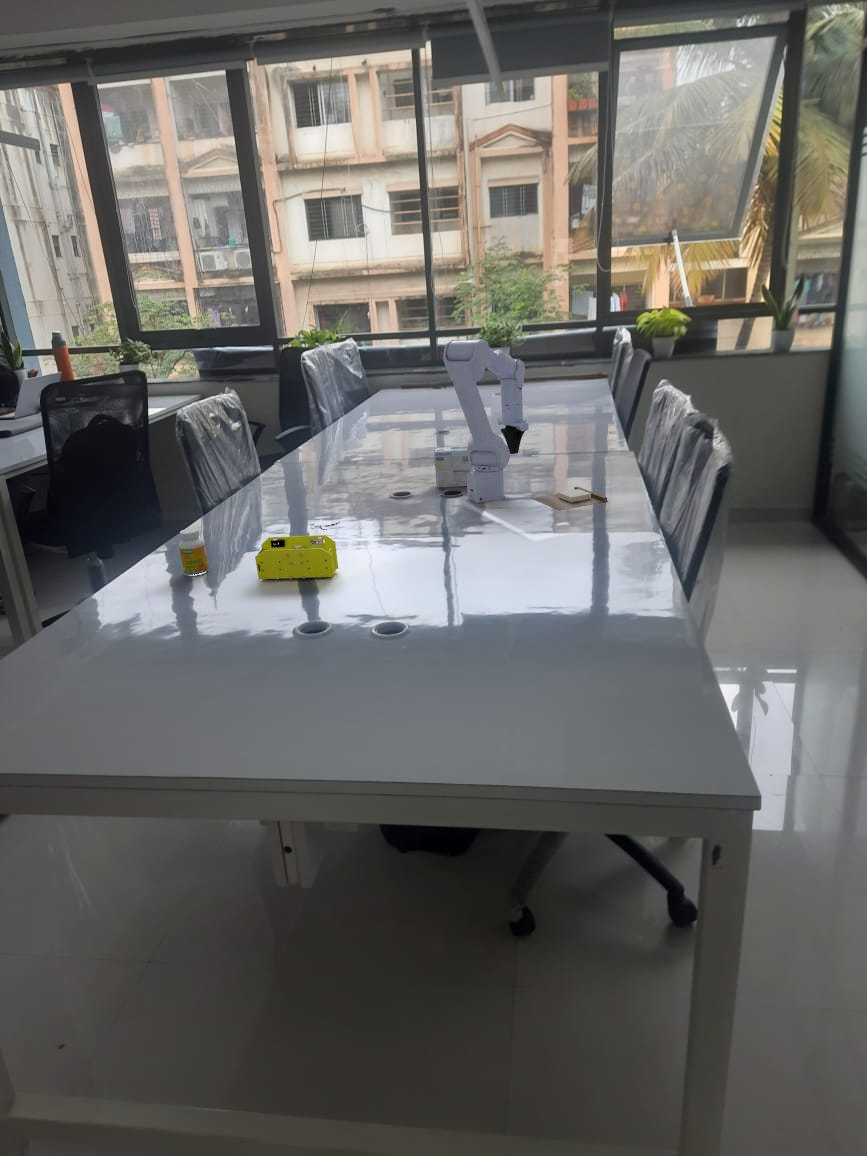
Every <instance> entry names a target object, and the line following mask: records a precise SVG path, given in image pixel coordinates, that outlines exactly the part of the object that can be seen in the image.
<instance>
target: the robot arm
mask: <svg viewBox="0 0 867 1156" xmlns="http://www.w3.org/2000/svg"><path fill="white" fill-rule="evenodd" d="M504 351H505V350H504V349H502V348H501V349H500V348H497V349H495V350H493V349H492V348H491V347H490V346H489V343H488V341H486V340H485V339H482V338H481V339H478V340H477V339H475V340H474V339H472V340H449V341H447V342H446V344H445V346H444V350H443V359H442V361H443V363H444V366H445V369H446V372H447V374H448V378H449V379H450V380H451V381H452V384H453V389H454V390H455V394H456V395H457V399H458V401H459V405H460V407H461V409H462V412H463V415H464V418H465V421H466V423H467V426H468V428H469V431H470V435H471V438H470V440H469V441H468V444H467V445H466V446H467V450H468V459H469V462H470V464H471V465H472V466H473V472H470V473H468V475H467V486H466V488H467V489H466V491H467V499H468V500H470V501H472V502H474V503H476V504H478V503H484V502H485V503H486V502H490V501H491V502H492V501H499V500H502V499H504V498H505V484H504V483H505V481H504V480H505V479H504V478H505V477H504V469H505V468H506V467H507V466H508V465H509V462H510V457H511V455H515V454H518V453H519V451H520V446H521V441H522V438H523V436H524V434H525V432H526V431H529V430H530V429H529V423H528V420H527V418H524V411H523V408H524V407H523V387H524V384H525V382H524V381H525V376H526V365H525V363H524V361H523V360H521V359H520V358H512V355H510V354H507V353H505V352H504ZM486 368H487V370H488V371H489V372H492V373H493V374H495V375H496V379H497V381H499V382H500V397H501V400H500V401H501V416H499V417H497V425H498V426H505V427H503V428H500V432H501V433H502V435H503V437H504V438H502V437H501V436H500V435H498V434H496V433H495V432H493V429H492V426H491V423H490V421H489V417H488V414H487V412H486V409H485V405H484V404H483V400H482V397H481V395H480V391H479V387H478V385H477V382H479V381H480V380H482V379H483V377H484V373H485V371H486ZM504 439H505V441H504ZM505 442H506V443H505Z"/></svg>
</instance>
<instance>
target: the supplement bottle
mask: <svg viewBox="0 0 867 1156" xmlns="http://www.w3.org/2000/svg"><path fill="white" fill-rule="evenodd" d="M179 535H180V536H179V537H180V539H181V541H179V544H178V550H179V553H180V560H181V565H182V569H183V570H182V571H183V574H184V573H185V574H187V575H193V574H194V575H195V574H199V573H202V572H205V571H207V570H208V569H209V570H210V566H209V561H208V556H207V550H206V545H205V540H204V539H203V538H202V537H200V536H201V535H200V530H199V529H198V528H196V527H191V528H185V529H181V530H180V531H179ZM185 574H184V575H185Z"/></svg>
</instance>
